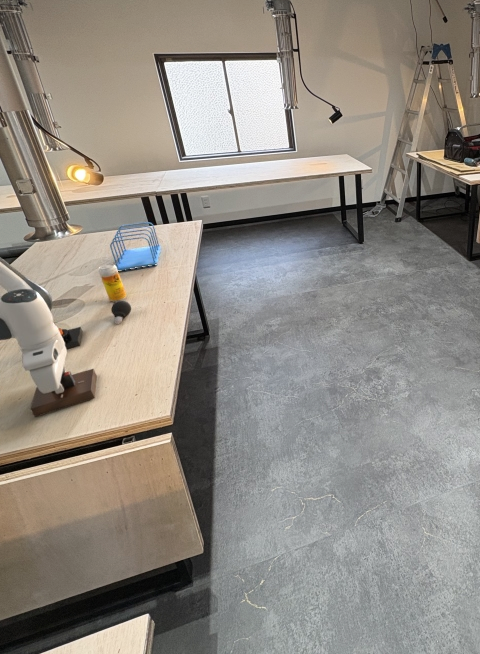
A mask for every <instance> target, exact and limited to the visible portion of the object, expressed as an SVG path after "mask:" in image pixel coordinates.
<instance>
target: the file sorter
mask: <svg viewBox="0 0 480 654" xmlns="http://www.w3.org/2000/svg"><path fill="white" fill-rule="evenodd" d="M146 224H149V225H151V226H152V227H151V226H149V225H146ZM138 225H139V226H138ZM130 226H131V227H130ZM132 226H134V227H132ZM124 227H125V228H124ZM140 228H141V229H140ZM142 228H143V229H142ZM145 228H148V229H145ZM133 229H136V230H133ZM149 229H150V230H151V231H150V230H149ZM125 230H128V231H125ZM136 232H141V233H136ZM145 232H148V233H149V234H150V235H149V234H148V233H145ZM128 233H131V234H128ZM132 233H134V234H132ZM123 234H124V235H123ZM125 234H126V235H125ZM141 235H142V236H141ZM143 235H144V236H145V237H144V236H143ZM135 236H137V237H135ZM138 236H139V237H138ZM146 236H147V237H148V238H149V239H148V238H147V237H146ZM126 237H132V238H126ZM140 239H144V240H146V241H147V243H148V246H144V247H136V248H130V249H126V246H125V242H124V241H131V240H140ZM115 244H116V246H115ZM119 246H120V247H119ZM116 247H117V248H116ZM160 247H161V248H162V245H161V244H160V243H159V239H158V237H157V232H156V228H155V225H154V224H153V223H152V222H148V221H147V222H138V223H130V224H123V225H120V226H119V228H118V230H117V231H116V234H115V235H114V238H113V239H112V240H111V242H110V244H109V248H110V250H111V254H112V257H113V259H114V264H115V266H116V267H117V270H125V269H130V268H135V267H142V266H148V265H155V264H157V262H158V264H157V265H155V266H154V267H156V266H158V265H159V260H158V257H159V258H160V255H161V252H162V249H161V250H160ZM113 249H114V250H113ZM117 250H118V251H117ZM114 252H115V253H114ZM118 253H119V254H118ZM159 253H160V255H159ZM151 267H153V266H149V267H148V268H151ZM144 268H146V267H143V268H142V269H144ZM138 269H140V268H137V269H136V270H138ZM131 270H132V271H133V269H131ZM131 270H130V271H131ZM125 271H127V270H125ZM125 271H124V272H125ZM120 272H121V271H119V272H118V273H120Z"/></svg>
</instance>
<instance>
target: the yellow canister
mask: <svg viewBox="0 0 480 654" xmlns="http://www.w3.org/2000/svg"><path fill="white" fill-rule="evenodd" d="M98 273H99V275H100V278H101V281H102V284H103V287H104V289H105V291H106V295H107V297H108V300H109V301H111V302H113V303H115V302H117V301H124V300H125V299H126V297H127V293H126V291H125V287H124V284H123V281H122V279H121V276H120V272H118V270H117V266H116V264H115V263H105V264H102V265H100V266H99V267H98Z"/></svg>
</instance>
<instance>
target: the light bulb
mask: <svg viewBox="0 0 480 654" xmlns="http://www.w3.org/2000/svg"><path fill="white" fill-rule="evenodd" d="M110 309H111V310H110V312H111V313H112V315H113V317H114V323H115V324H116V325H120V324H122V321H123V319H125V317H127V316H129V315H130V313H131V312H132V306H131V304H130V303H129V302H128V301H126V300H121V301H117V302H113V304H112V305H111V308H110Z"/></svg>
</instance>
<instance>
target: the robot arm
mask: <svg viewBox="0 0 480 654" xmlns="http://www.w3.org/2000/svg"><path fill="white" fill-rule="evenodd" d="M0 287H2V288H3V289H4V290H5V291H7V292H6V293H4V294H3V295H1V296H0V341H7V340H10V339H16V341H17V344H18V345H19V348H20V352H21V354H22V367H23V369H24V371H26V372H27V371H28V372H29V376H30V377H31V379H32V381H33V383H34V385H35V386H36V388H38V389H39V391H40V392H42V393H49V392H52V391H55V392H56V393H57V394H59V393H62V392H64V386H63V384H61V383H60V381H61V376H62V374H64V373H65V372H67V371H66V366H65V363H66V359H67V355H68V354H67V352H68V349H67V350H66V347H65V342H64V340H63V338H62V336H61V334H60V331H59V329H58V328H59V327H58V326H57V325H55V323H54V316H53V313H52V312H51V311H52V309H53V297H52V296H51V295H52V294H51V293H50V292H49V291H48V290H47V289H45V288H44V287H42V286H40V285H39V284H37V283H35V282H33V281H32V280H30V279H29V278H28V277H26V276H25V275H23V273H22V272H20V271H18V270H17V269H16V268H14V267H13V266H12V265H11V264H10V263H8V262H7V261H6V260H5V259H3V257H0Z"/></svg>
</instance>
